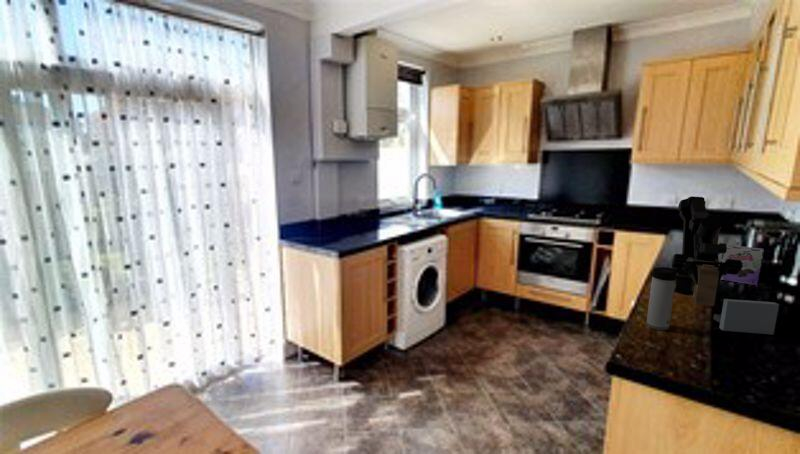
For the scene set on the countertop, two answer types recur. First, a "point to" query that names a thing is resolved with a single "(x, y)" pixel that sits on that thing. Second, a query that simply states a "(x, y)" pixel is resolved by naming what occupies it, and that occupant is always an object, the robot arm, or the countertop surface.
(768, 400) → the countertop surface
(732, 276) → the candy box
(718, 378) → the countertop surface
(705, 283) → the brown box with handle
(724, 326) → the grey stool
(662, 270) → the travel mug
